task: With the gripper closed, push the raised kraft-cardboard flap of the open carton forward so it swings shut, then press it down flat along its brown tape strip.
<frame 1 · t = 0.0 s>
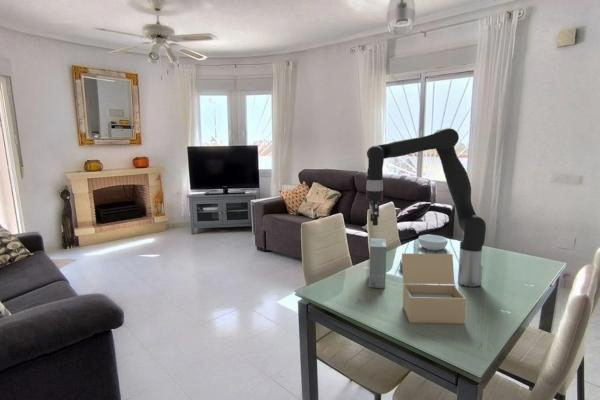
hand: (373, 223, 161), 29 cm above the table, fingers open, 8 cm apart
lid: (427, 268, 139), point 16 cm above the table, hinge at 110.0°
tape roll: (414, 271, 180), on the table
cereal bowl: (432, 249, 215), on the table
carton: (432, 315, 133), on the table
hard drive box: (376, 282, 166), on the table
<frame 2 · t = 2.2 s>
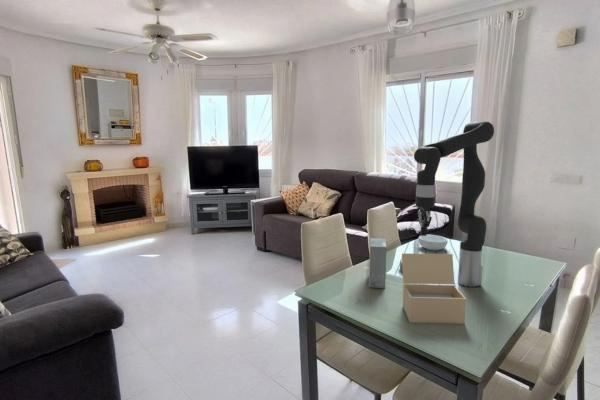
hand: (423, 235, 145), 28 cm above the table, fingers closed
nothing on the table moved.
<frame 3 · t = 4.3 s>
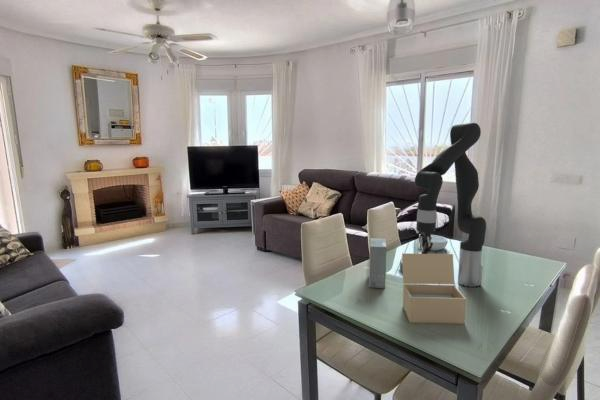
hand: (424, 260, 143), 18 cm above the table, fingers closed
lid: (427, 268, 139), point 16 cm above the table, hinge at 107.8°, touching gripper
everything else where it was.
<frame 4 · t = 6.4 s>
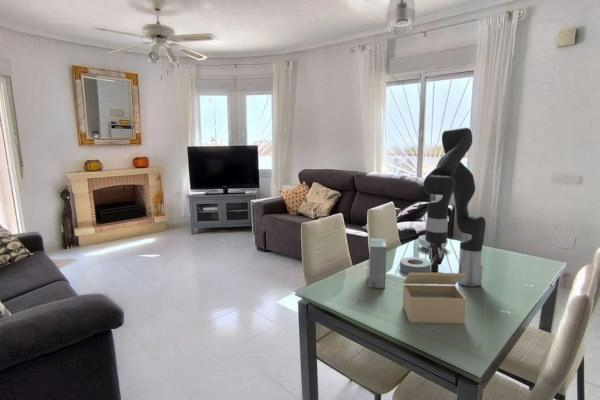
hand: (434, 273, 129), 18 cm above the table, fingers closed
lid: (432, 278, 132), point 15 cm above the table, hinge at 39.4°, touching gripper
everything else where it was.
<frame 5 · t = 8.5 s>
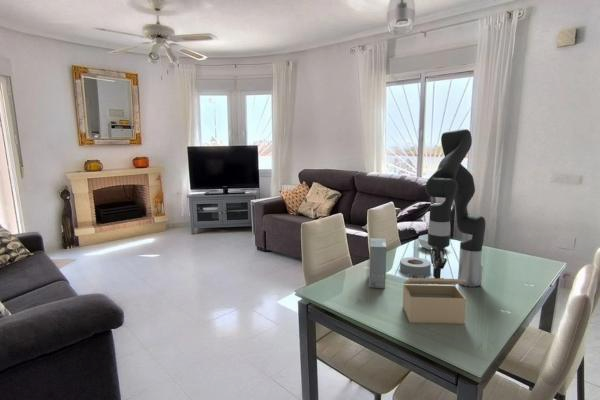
hand: (436, 277, 127), 17 cm above the table, fingers closed
lid: (433, 281, 132), point 14 cm above the table, hinge at 29.1°, touching gripper
everything else where it was.
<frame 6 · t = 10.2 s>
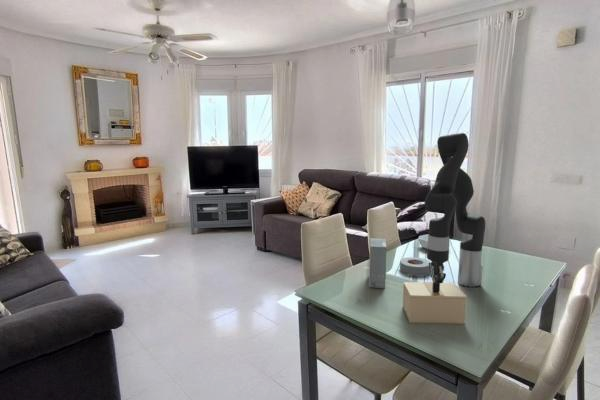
hand: (435, 291, 128), 11 cm above the table, fingers closed
lid: (433, 289, 131), point 11 cm above the table, hinge at -0.1°
everything else where it was.
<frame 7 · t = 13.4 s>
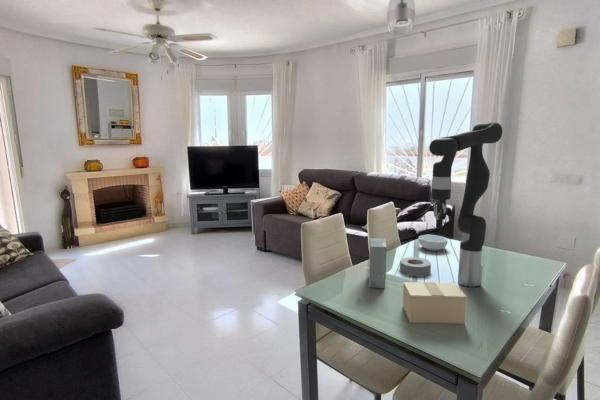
hand: (439, 228, 143), 31 cm above the table, fingers closed
nothing on the table moved.
at the end: lid at +0° (first picture: +110°) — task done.
